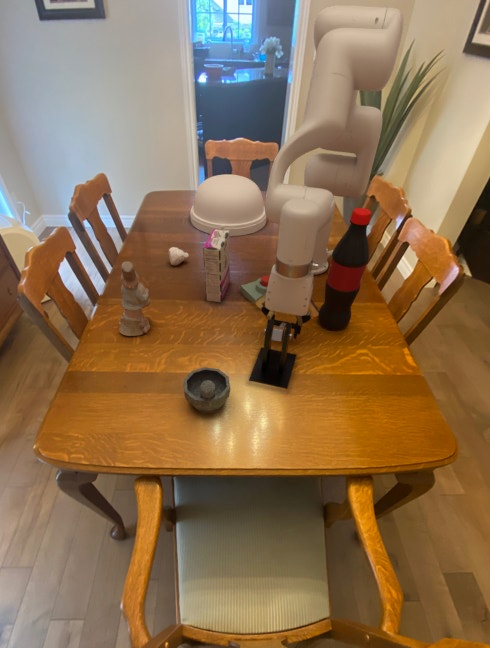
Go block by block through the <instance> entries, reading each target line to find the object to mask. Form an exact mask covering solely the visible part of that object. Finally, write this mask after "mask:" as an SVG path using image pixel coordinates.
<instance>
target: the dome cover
mask: <svg viewBox="0 0 490 648" xmlns="http://www.w3.org/2000/svg"><path fill="white" fill-rule="evenodd" d="M190 223H191V225H192V226H193V227H194V228H196V229H197V230H199V231H201V232H203V233H205V234H209V235H210V234H211V232H212V230H213V229H218V230H219V229H220V230H228V231H229V237H239V236H245V235H250V234H253V233H256V232H258V231H260V230H261V229H263V228H264V227H265V226H266V224H267V217H266V214H265V205H264V199H263V194H262V191H261V189H260V187H259V185H257V183H255V181H253V180H252V179H251V178H247V177H245V176H242V175H238V174H230V173H229V174H228V173H227V174H218V175H213V176H210V177H208V178H206V179H205V180H203V181H202V182H200V184H199V186H198V187H197V188H196V191H195V194H194V198H193V204H192V206H191V209H190Z"/></svg>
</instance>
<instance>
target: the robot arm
mask: <svg viewBox="0 0 490 648" xmlns="http://www.w3.org/2000/svg"><path fill="white" fill-rule="evenodd" d="M315 17H316V18H315V21H314V26H313V44H314V49H315V58H314V62H313V66H312V67H313V68H312V72H311V78H310V83H309V88H308V92H307V97H306V103H305V106H304V107H305V108H304V112H303V118H302V122H301V124H300V126H299V127H298V129H297V130H296V131H294V132H293V134H292V135H290V136H289V137H288V139H286V141H285V142H284V143H283V144H282V146H281V148H280V149H279V151H278V153H277V154H276V156H275V158H274V160H273V163H272V166H271V169H270V173H269V179H268V184H267V189H266V196H265V199H264V200H265V201H264V207H265V214H266V217H267V218H266V220H268V221H269V222H271V223H274V224H278V225H279V226H278V227H279V228H278V238H277V247H276V255H275V256H276V257H275V263H274V264H273V265H272V268H271V270H270V274H269V276H270V278H269V282H268V287H267V292H266V293H265V294H263V295H262V296H261V297H259V298H258V299H257V300H256V302H255V303H254V304H255V306H256V307H258V309H260V312H262V314H263V315H264V316H265V318H266V320H267V321H266V326H267V325H268V323H269V320H270V319H271V320H274V319H275V320H276V314H275V312H277V313H282V314H287V315H293V316H295V318H296V321H295V323H296V325H295V329H293V334H292V338H293V339H294V340H295V339H297V336H298V335H301V331H302V327H303V325H304V324H306V323H307V322H309V321H310V320H311V319H314V318H317V317H318V315H319V310H320V309H319V308H318V306H317V305H316V304H315V302H314V301H313V300H312V297H313V289H314V275H320V274H323V273H325V272H326V271H327V270H328V268H329V261H328V259H329V258H330V257H331V258H332V253H333V250H334V249H331V250H330V249H329V248H328V245H329V240H330V236H331V231H332V226H333V222H334V217H335V209H336V201H335V197H341V198H350V199H358V198H360V197H362V196H363V195H364V194H365V192H366V190H367V187H368V184H369V181H370V177H371V173H372V169H373V166H374V161H375V158H376V154H377V150H378V145H379V143H380V139H381V135H382V128H383V121H384V120H383V119H384V118H383V113H382V111H381V110H380V109H379V108H377V107H375V106H369V105H368V106H367V105H358V104H357V98H358V93H359V91H363V92H380V91H382V90H384V89H385V88H386V86H387V84H388V83H389V81H390V78H391V76H392V73H393V71H394V68H395V65H396V61H397V57H398V53H399V49H400V45H401V41H402V36H403V31H404V15H403V13H402V11H401V9H399V8H396V7H387V6H386V7H385V6H364V5H352V4H351V5H349V4H348V5H347V4H345V5H343V4H341V5H340V4H339V5H331V6H328V7H324V8H323V9H321V10H320V11H319V12H318V14H317V15H316V16H315ZM317 149H321V150H325V151H329V152H338V153H345V154H347V153H348V154H354V155H355V156H354V155H353V156H352V155H345V154H344V155H343V154H336V153H326V152H320V153H316V154H313V155H311V156H310V157H309V158H308V159H307V161H306V163H305V167H304V174H303V175H304V176H303V177H304V178H303V179H304V180H303V181H304V182H303V183H304V184H303V185H298V184H291V183H284V180H285V176H286V174H287V171H288V169H289V168H290V166H291V165H292V164H293V163H294V162H295V161H296V160H297V159H299V158H301V157H302V156H304V155H306V154H308V153H309V152H312V151H314V150H317ZM264 302H265V303H264ZM308 311H309V312H308ZM274 327H275V325H274V326H273V329H274Z"/></svg>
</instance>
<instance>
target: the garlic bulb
mask: <svg viewBox="0 0 490 648" xmlns="http://www.w3.org/2000/svg"><path fill="white" fill-rule="evenodd" d="M189 256H190V255H189V253H188V252H185V251H183V249H180V248H179V247H175V246H172V247H170V248H168V257H169V262H170V264H171V265H172V266H173V267H175V266H179V265H180V264H181V263H182V262H183V261H184V260H186V259H188V258H189Z"/></svg>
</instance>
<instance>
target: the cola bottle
mask: <svg viewBox="0 0 490 648" xmlns="http://www.w3.org/2000/svg"><path fill="white" fill-rule="evenodd" d="M371 218H372V211H371V210H370V209H367V208H364V207H357V208H354V209H353V210H352V213H351V216H350V219H349V223H350V224H349V226H348V228H347V230H346V232H345V233H344V234H343V235H342V237H341V238H340V239H339V241H338V242H337V244H336V245H335V247H334V248H333V249H332V250H333V253H332V256H331V260H330V264H329V267H328V268H329V270H328V272H327V273H328V274H327V277H326V280H325V287H324V301H323V303H322V305H321V306H320V309H318V310H319V315H318V316H317V317H318V318H317V319H318V324H319V325H320V327H322V328H323V329H325V330H327V331H331V332H341V331H342V330H345V329H346V328H347V327H348V325H349V323H350V322H351V318H352V305H353V303H354V302H355V300H356V298H357V296H358V294H359V292H360V290H361V285H362V280H363V278H364V274H365V271H366V268H367V265H368V263H369V260H370V248H369V246H370V245H369V241H368V240H369V239H368V234H367V231H368V230H367V229H368V226H369V225H370V222H371Z"/></svg>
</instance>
